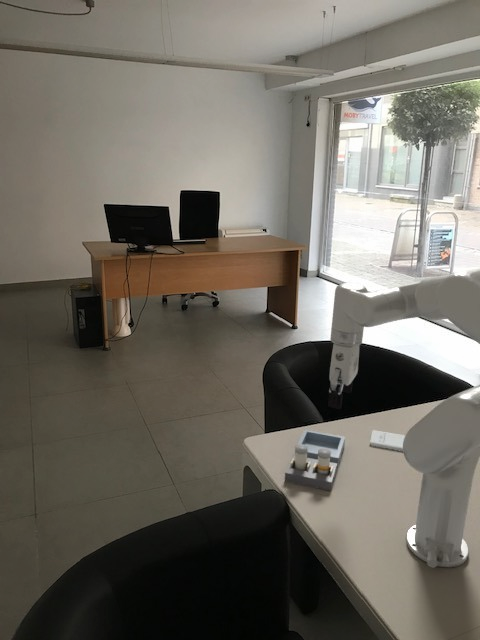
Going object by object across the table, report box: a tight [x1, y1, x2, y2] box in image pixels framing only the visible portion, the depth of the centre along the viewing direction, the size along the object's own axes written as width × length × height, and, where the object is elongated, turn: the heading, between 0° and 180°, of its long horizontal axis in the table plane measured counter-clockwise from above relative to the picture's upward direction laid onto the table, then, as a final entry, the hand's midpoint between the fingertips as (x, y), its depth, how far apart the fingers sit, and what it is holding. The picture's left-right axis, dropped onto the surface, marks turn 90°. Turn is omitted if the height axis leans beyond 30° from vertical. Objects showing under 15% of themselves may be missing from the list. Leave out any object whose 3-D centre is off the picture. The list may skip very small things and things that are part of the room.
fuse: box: [294, 443, 308, 471], centre depth 138 cm, size 3×3×8 cm
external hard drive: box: [369, 429, 406, 452], centre depth 156 cm, size 2×8×12 cm
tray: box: [297, 429, 346, 469], centre depth 150 cm, size 12×12×3 cm
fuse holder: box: [284, 454, 338, 492], centre depth 138 cm, size 9×12×4 cm
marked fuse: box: [317, 448, 331, 476], centre depth 137 cm, size 3×3×8 cm
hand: (339, 399), depth 131 cm, fingers open, 9 cm apart
